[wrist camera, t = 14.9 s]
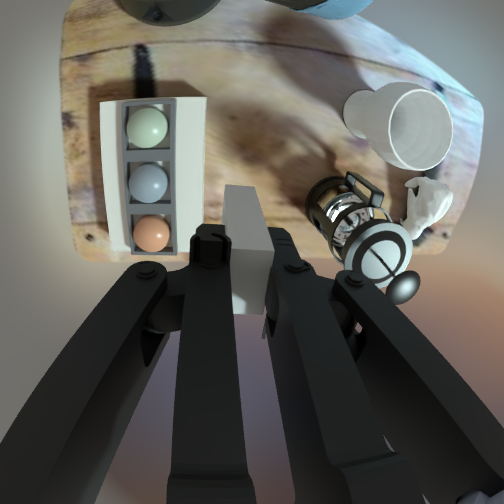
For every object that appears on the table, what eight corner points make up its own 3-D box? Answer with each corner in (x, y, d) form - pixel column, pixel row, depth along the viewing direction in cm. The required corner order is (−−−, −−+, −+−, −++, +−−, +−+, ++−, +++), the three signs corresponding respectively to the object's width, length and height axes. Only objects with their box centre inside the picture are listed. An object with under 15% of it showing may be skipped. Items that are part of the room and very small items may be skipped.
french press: (348, 237, 51) (414, 330, 31) (297, 229, 49) (346, 330, 29) (370, 173, 45) (461, 241, 25) (316, 159, 44) (393, 225, 24)
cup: (319, 105, 39) (365, 115, 26) (371, 68, 37) (431, 67, 24) (358, 160, 44) (410, 193, 31) (405, 124, 41) (467, 144, 28)
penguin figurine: (463, 194, 39) (435, 256, 45) (435, 172, 46) (412, 229, 52) (437, 185, 38) (408, 253, 44) (409, 164, 45) (386, 225, 51)
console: (110, 100, 36) (95, 103, 31) (207, 96, 38) (205, 97, 33) (119, 238, 47) (109, 255, 42) (203, 239, 48) (201, 257, 44)
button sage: (131, 108, 33) (126, 109, 32) (169, 106, 34) (166, 107, 32) (131, 145, 36) (127, 148, 34) (168, 144, 36) (165, 147, 35)
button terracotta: (135, 213, 40) (131, 219, 39) (169, 213, 41) (167, 219, 39) (138, 245, 43) (135, 251, 41) (171, 245, 44) (169, 252, 42)
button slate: (131, 162, 37) (127, 166, 35) (168, 161, 37) (165, 165, 36) (133, 198, 39) (130, 203, 38) (169, 197, 40) (166, 203, 38)
